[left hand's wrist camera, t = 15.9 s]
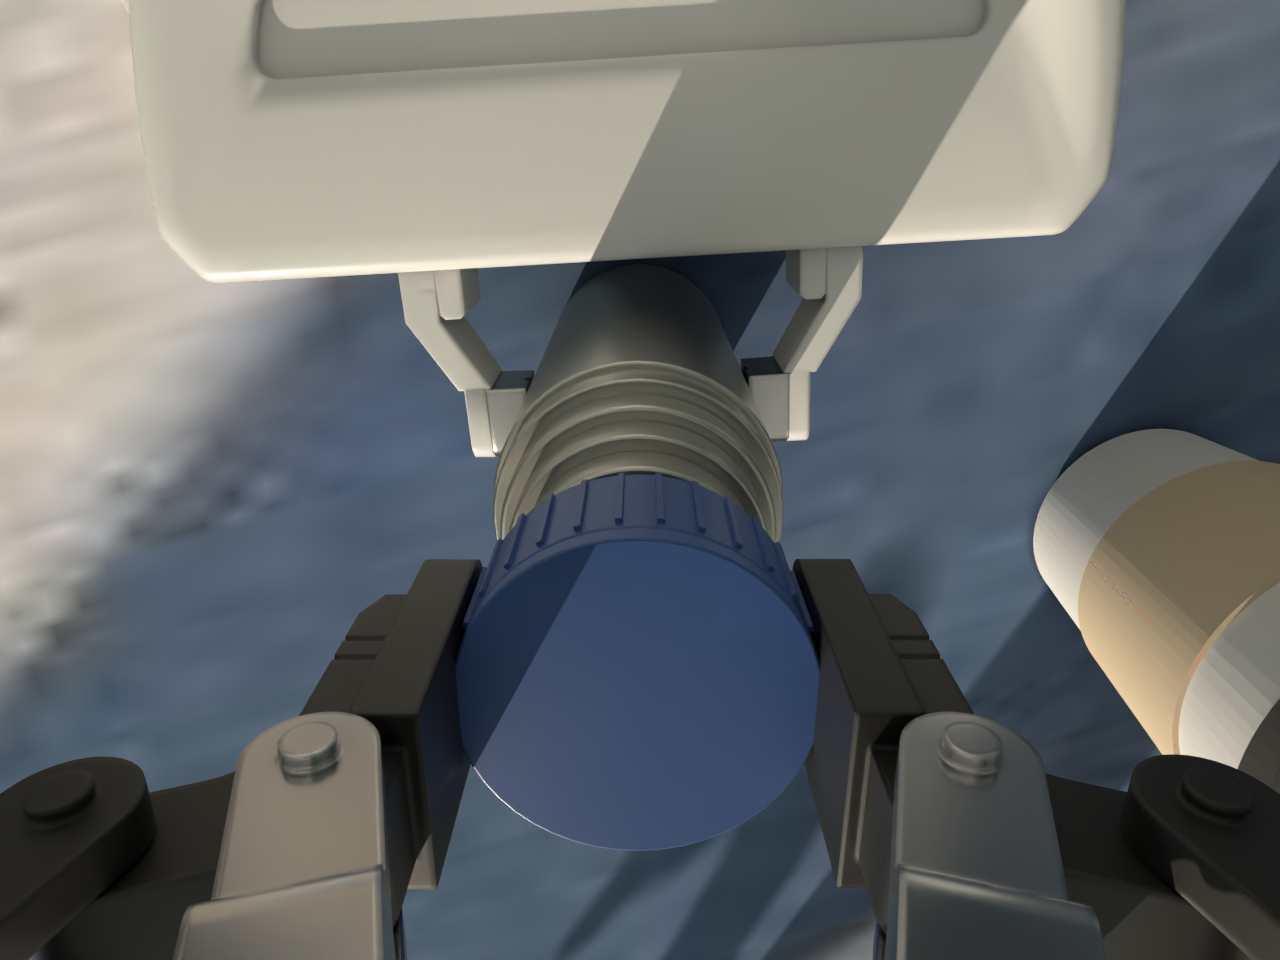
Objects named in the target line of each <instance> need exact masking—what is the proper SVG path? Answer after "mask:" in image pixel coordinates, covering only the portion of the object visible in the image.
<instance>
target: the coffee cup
mask: <svg viewBox="0 0 1280 960" xmlns="http://www.w3.org/2000/svg"><path fill="white" fill-rule="evenodd" d="M1033 546H1034V555H1035V560H1036V563H1037V566H1038V569H1039V571H1040V573H1041V575H1042V577H1043V579H1044V580H1045V582H1046V583H1047V585H1048V586H1049V587H1050V589H1051V590H1052V592H1053V593H1054V594H1055V596H1056V597H1057V599H1058V600H1059V601H1060V603H1061V604H1062V606H1063V607H1064V608H1065V610H1066V611H1067V612H1068V614H1069V615H1070V617H1071V618H1072V619H1073V621H1074V622H1075V624H1076V625H1077V626H1078V628H1079V629H1080V631H1081V633H1082V636H1083V639H1084V641H1085V643H1086V646H1087V647H1088V649H1089V651H1090V653H1091V654H1092V656H1093V657H1094V658H1095V660H1096V661H1097V663H1098V664H1099V665H1100V667H1101V668H1102V670H1103V671H1104V673H1105V674H1106V675H1107V677H1108V678H1109V680H1110V681H1111V682H1112V684H1113V685H1114V687H1115V688H1116V690H1117V691H1118V692H1119V694H1120V695H1121V697H1122V698H1123V699H1124V701H1125V702H1126V704H1127V705H1128V707H1129V708H1130V709H1131V711H1132V712H1133V714H1134V715H1135V716H1136V718H1137V719H1138V721H1139V722H1140V723H1141V725H1142V726H1143V728H1144V729H1145V731H1146V732H1147V733H1148V735H1149V736H1150V738H1151V739H1152V740H1153V742H1154V743H1155V745H1156V746H1157V748H1158V749H1159V750H1160V752H1161V753H1162V755H1168V754H1179V755H1190V756H1195V757H1201V758H1205V759H1209V760H1213V761H1217V762H1220V763H1222V764H1225V765H1228V766H1231V767H1233V768H1236V769H1238V770H1240V771H1242V772H1245V773H1247V774H1248V775H1250V776H1252V777H1254V778H1256V779H1258V780H1259V781H1261V782H1263V783H1264V784H1266V785H1267V786H1269V787H1270V788H1272V789H1273V790H1275V791H1276V792H1277V793H1279V794H1280V464H1277V463H1272V462H1264V461H1259V460H1257V459H1254V458H1252V457H1249V456H1247V455H1244V454H1242V453H1239V452H1237V451H1234V450H1232V449H1229V448H1227V447H1224V446H1222V445H1219V444H1217V443H1214V442H1212V441H1209V440H1207V439H1204V438H1202V437H1200V436H1197V435H1195V434H1192V433H1188V432H1185V431H1180V430H1173V429H1148V430H1141V431H1136V432H1131V433H1128V434H1124V435H1121V436H1118V437H1116V438H1113V439H1111V440H1109V441H1106V442H1104V443H1102V444H1100V445H1098V446H1097V447H1095V448H1093V449H1092V450H1090V451H1088V452H1087V453H1086V454H1084V455H1083V456H1081V457H1080V458H1079V459H1078V460H1076V461H1075V462H1074V463H1073V464H1072V465H1071V466H1070V467H1069V468H1067V470H1066V471H1065V472H1064V473H1063V474H1062V475H1061V476H1060V477H1059V478H1058V480H1057V481H1056V482H1055V483H1054V485H1053V486H1052V488H1051V489H1050V491H1049V492H1048V494H1047V496H1046V497H1045V499H1044V501H1043V503H1042V506H1041V508H1040V510H1039V513H1038V516H1037V520H1036V523H1035V529H1034V538H1033Z"/></svg>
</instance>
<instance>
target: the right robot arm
mask: <svg viewBox="0 0 1280 960" xmlns="http://www.w3.org/2000/svg"><path fill="white" fill-rule="evenodd" d="M122 3H123V4H124V6H125V8H126V9H127V11H128V13H129V14H130V30H131V45H132V57H133V68H134V80H135V91H136V99H137V107H138V116H139V124H140V132H141V139H142V145H143V152H144V158H145V165H146V171H147V176H148V182H149V187H150V193H151V198H152V204H153V208H154V213H155V217H156V221H157V225H158V227H159V230H160V233H161V235H162V237H163V239H164V240H165V242H166V243H167V244H168V245H169V246H170V247H171V248H172V249H173V250H174V251H175V252H176V253H177V254H178V255H179V256H180V257H181V258H182V259H183V260H184V261H185V262H186V263H187V264H188V265H189V266H190V267H191V268H192V269H193V270H194V271H195V272H196V273H198V274H199V275H200V276H201V277H202V278H203V279H205V280H207V281H209V282H214V283H226V282H245V281H262V280H280V279H297V278H314V277H332V276H349V275H366V274H384V273H398V276H399V283H400V289H401V296H402V302H403V309H404V315H405V322H406V324H407V325H408V327H409V328H410V329H411V330H412V332H413V333H414V334H415V336H416V337H417V338H418V339H419V341H420V342H421V343H422V345H423V346H424V347H425V348H426V350H427V351H428V352H429V353H430V355H431V356H432V357H433V359H434V360H435V361H436V362H437V364H438V365H439V366H440V367H441V369H442V370H443V371H444V373H445V374H446V375H447V376H448V378H449V379H450V380H451V382H452V383H453V384H454V385H455V387H456V388H457V389H458V390H459V391H464V392H465V400H466V407H467V414H468V422H469V429H470V437H471V444H472V450H473V452H474V454H475V457H495V456H500V454H501V451H502V448H503V446H504V444H505V442H506V439H507V437H508V435H509V433H510V430H511V428H512V426H513V423H514V421H515V419H516V417H517V414H518V412H519V410H520V408H521V405H522V403H523V401H524V399H525V396H526V394H527V392H528V389H529V387H530V385H531V383H532V380H533V378H534V370H528V371H502V369H501V367H500V366H499V364H498V363H497V362H496V360H495V359H494V357H493V356H492V354H491V353H490V351H489V350H488V349H487V347H486V346H485V344H484V343H483V341H482V340H481V338H480V337H479V336H478V334H477V333H476V331H475V330H474V328H473V327H472V325H471V324H470V323H469V321H468V320H467V318H466V317H465V314H466V313H467V312H468V311H469V310H470V309H471V308H472V307H473V306H474V305H475V304H476V303H477V302H478V301H479V300H480V298H481V297H480V288H479V279H478V270H477V268H487V267H505V266H522V265H539V264H557V263H574V262H591V261H609V260H626V259H643V258H661V257H678V256H695V255H713V254H730V253H747V252H765V251H782V250H786V281H787V282H788V283H789V284H790V285H791V286H792V287H793V288H794V289H795V290H796V291H797V292H798V293H799V294H800V295H801V296H802V297H803V299H802V301H801V303H800V305H799V307H798V308H797V310H796V312H795V314H794V316H793V318H792V319H791V321H790V323H789V325H788V327H787V329H786V330H785V332H784V334H783V336H782V338H781V340H780V341H779V343H778V345H777V347H776V349H775V351H774V352H773V356H771V357H759V358H746V359H741V371H742V373H743V376H744V378H745V380H746V383H747V385H748V388H749V390H750V392H751V395H752V397H753V399H754V402H755V404H756V406H757V409H758V411H759V413H760V416H761V418H762V420H763V423H764V425H765V427H766V430H767V432H768V434H769V437H770V439H771V441H772V442H773V441H793V440H807V438H808V436H809V430H810V379H811V372H816V371H817V369H818V367H819V366H820V364H821V363H822V361H823V359H824V358H825V356H826V354H827V353H828V351H829V350H830V348H831V346H832V345H833V343H834V341H835V340H836V338H837V337H838V335H839V333H840V332H841V330H842V328H843V327H844V325H845V324H846V322H847V320H848V319H849V317H850V316H851V314H852V312H853V311H854V309H855V307H856V306H857V304H858V303H859V301H860V299H861V293H862V268H863V246H868V245H886V244H903V243H920V242H938V241H955V240H972V239H990V238H1007V237H1023V236H1040V235H1055V234H1058V233H1061V232H1063V231H1065V230H1066V229H1068V228H1069V227H1070V226H1071V224H1072V223H1073V222H1074V221H1075V220H1076V219H1077V218H1078V217H1079V216H1080V215H1081V213H1082V212H1083V211H1084V210H1085V208H1086V207H1087V206H1088V205H1089V203H1090V202H1091V201H1092V200H1093V198H1094V197H1095V196H1096V195H1097V193H1098V192H1099V191H1100V190H1101V188H1102V187H1103V185H1104V184H1105V182H1106V180H1107V177H1108V175H1109V171H1110V167H1111V163H1112V159H1113V153H1114V147H1115V140H1116V132H1117V124H1118V116H1119V106H1120V95H1121V85H1122V72H1123V57H1124V39H1125V14H1126V0H122Z"/></svg>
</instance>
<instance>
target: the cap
mask: <svg viewBox="0 0 1280 960" xmlns="http://www.w3.org/2000/svg"><path fill="white" fill-rule="evenodd" d="M461 627H462V628H465V629H466V630H465V633H464V636H463V639H462V641H461V644H460V647H459V651H458V654H457V658H456V661H455V670H456V682H457V693H458V705H459V716H460V727H461V738H462V747H463V749H464V751H465V753H466V755H467V757H468V758H469V760H470V762H471V764H472V766H473V767H474V769H475V770H476V772H477V773H478V775H479V776H480V777H481V779H482V780H483V782H484V783H485V784H486V785H487V786H488V787H489V788H490V789H491V790H492V792H493V793H494V794H495V795H496V796H497V797H498V798H499V799H500V800H501V801H503V802H504V803H505V804H506V805H507V806H509V807H510V808H511V809H512V810H513V811H515V812H516V813H518V814H519V815H521V816H522V817H524V818H525V819H527V820H528V821H530V822H531V823H533V824H535V825H537V826H539V827H541V828H543V829H545V830H547V831H549V832H551V833H553V834H556V835H558V836H561V837H564V838H566V839H569V840H572V841H575V842H579V843H583V844H587V845H591V846H595V847H601V848H608V849H615V850H633V851H644V850H661V849H668V848H674V847H680V846H685V845H689V844H693V843H696V842H700V841H704V840H707V839H709V838H712V837H714V836H717V835H719V834H722V833H725V832H727V831H729V830H731V829H733V828H734V827H736V826H738V825H740V824H742V823H744V822H746V821H747V820H749V819H750V818H752V817H753V816H755V815H756V814H757V813H759V812H760V811H762V810H763V809H764V808H766V807H767V806H768V805H769V804H770V803H771V802H772V801H774V800H775V799H776V798H777V797H778V796H779V795H780V794H781V793H782V792H783V791H784V790H785V788H786V787H787V786H788V785H789V784H790V783H791V782H792V781H793V779H794V778H795V776H796V775H797V773H798V772H799V770H800V769H801V767H802V766H803V764H804V763H805V761H806V759H807V757H808V754H809V752H810V750H811V748H812V746H813V741H814V730H815V718H816V707H817V695H818V684H819V671H820V662H819V658H818V655H817V652H816V649H815V646H814V643H813V640H812V637H811V634H810V633H811V632H814V631H815V629H814V627H813V624H812V621H811V618H810V615H809V612H808V609H807V607H806V604H805V601H804V598H803V595H802V592H801V590H800V587H799V584H798V581H797V578H796V575H795V573H794V570H793V571H790V570H789V567H788V564H787V561H786V558H785V555H784V552H783V549H782V547H781V545H780V543H779V542H776V543H774V542H773V540H772V539H771V537H770V536H769V534H768V533H767V532H766V531H765V530H764V529H763V528H762V526H761V522H760V519H759V518H758V517H757V516H754V517H751V516H750V515H749V514H748V513H746V512H745V511H744V510H743V509H742V508H740V507H739V506H738V505H736V504H735V503H733V501H732V498H731V497H729V496H728V495H726V496H725V497H723V496H722V495H720V494H718V493H716V492H713V491H711V490H709V489H707V488H704V487H702V486H700V485H699V483H698V482H696V481H692V483H690V482H687V481H683V480H680V479H675V478H669V477H663V476H662V474H661V473H656V474H655V475H638V474H635V475H624V473H618V476H611V477H606V478H601V479H596V480H591V481H588V480H587V479H585V480H582V481H581V484H579V485H576V486H573V487H571V488H568V489H566V490H564V491H562V492H560V493H558V494H556V495H554V494H553V493H551V494H549V495H548V496H547V499H546V501H544V502H543V503H541V504H539V505H538V506H536V507H535V508H534V509H532V510H531V511H530V512H529V513H528V514H527V515H525V514H524V513H522V514H521V515H520V516H519V518H518V521H517V524H516V525H515V526H514V527H513V528H512V529H511V531H510V532H509V533H508V534H507V535H506V536H505V538H504V539H503V540H502V539H501V538H499V539H498V541H497V542H496V545H495V548H494V551H493V554H492V556H491V559H490V562H489V565H488V568H486V567H483V569H482V571H481V574H480V577H479V580H478V582H477V585H476V588H475V590H474V593H473V596H472V599H471V601H470V604H469V607H468V610H467V612H466V615H465V618H464V621H463V623H462V626H461Z"/></svg>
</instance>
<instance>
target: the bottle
mask: <svg viewBox="0 0 1280 960" xmlns="http://www.w3.org/2000/svg"><path fill="white" fill-rule="evenodd" d="M618 473H624V475H635V474H638V475H655V474H656V473H661V474H662V476H663V477H669V478H675V479H680V480H683V481H687V482H690V483H692V481H696V482H698V483H699V485H700V486H702V487H704V488H707V489H709V490H711V491H713V492H716V493H718V494H720V495H722V496H723V497H725V496H726V495H728V496H729V497H731V498H732V501H733V503H735V504H736V505H738V506H739V507H740V508H742V509H743V510H744V511H745V512H746V513H748V514H749V515H750V516H751V517H754V516H757V517H758V518H759V519H760V522H761V526H762V528H763V529H764V530H765V531H766V532H767V533H768V534H769V536H770V537H771V539H772V540H773V542H774V543H776V542H779V541H780V538H781V533H782V525H783V482H782V475H781V469H780V464H779V461H778V458H777V455H776V451H775V448H774V446H773V444H772V441H771V439H770V437H769V434H768V432H767V430H766V427H765V425H764V423H763V420H762V418H761V416H760V413H759V411H758V409H757V406H756V404H755V402H754V399H753V397H752V395H751V392H750V390H749V388H748V385H747V383H746V380H745V378H744V376H743V373H742V371H741V369H740V366H739V364H738V362H737V359H736V357H735V355H734V352H733V350H732V348H731V345H730V343H729V341H728V338H727V336H726V334H725V331H724V329H723V327H722V324H721V322H720V320H719V317H718V315H717V313H716V311H715V309H714V307H713V305H712V304H711V302H710V301H709V299H708V298H707V296H706V295H705V294H704V293H703V292H702V291H701V290H700V289H699V288H698V287H697V286H696V285H695V284H694V283H693V282H692V281H690V280H689V279H687V278H686V277H684V276H683V275H681V274H679V273H677V272H675V271H673V270H670V269H667V268H664V267H661V266H656V265H650V264H629V265H623V266H618V267H614V268H612V269H609V270H606V271H604V272H602V273H600V274H598V275H596V276H594V277H593V278H592V279H590V280H589V281H587V282H586V283H585V284H584V285H583V286H581V287H580V288H579V289H578V290H577V291H576V292H575V294H574V295H573V296H572V297H571V299H570V300H569V302H568V303H567V305H566V306H565V308H564V310H563V312H562V315H561V317H560V319H559V321H558V324H557V326H556V328H555V330H554V333H553V335H552V337H551V339H550V342H549V344H548V346H547V349H546V351H545V353H544V355H543V358H542V360H541V362H540V364H539V367H538V369H537V371H536V374H535V376H534V378H533V380H532V383H531V385H530V387H529V389H528V392H527V394H526V396H525V399H524V401H523V403H522V405H521V408H520V410H519V412H518V414H517V417H516V419H515V421H514V423H513V426H512V428H511V430H510V433H509V435H508V437H507V439H506V442H505V444H504V446H503V448H502V451H501V454H500V458H499V461H498V465H497V468H496V475H495V482H494V526H495V533H496V539H497V541H498V539H499V538H501V539H502V540H503V539H504V538H505V536H506V535H507V534H508V533H509V532H510V531H511V529H512V528H513V527H514V526H515V525H516V524H517V521H518V518H519V516H520V515H521V514H522V513H524V514H525V515H527V514H528V513H529V512H530V511H531V510H532V509H534V508H535V507H536V506H538V505H539V504H541V503H543V502H544V501H546V499H547V496H548V495H549V494H551V493H553V494H554V495H556V494H558V493H560V492H562V491H564V490H566V489H568V488H571V487H573V486H576V485H579V484H581V481H582V480H585V479H587V480H588V481H591V480H596V479H601V478H606V477H611V476H618Z"/></svg>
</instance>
